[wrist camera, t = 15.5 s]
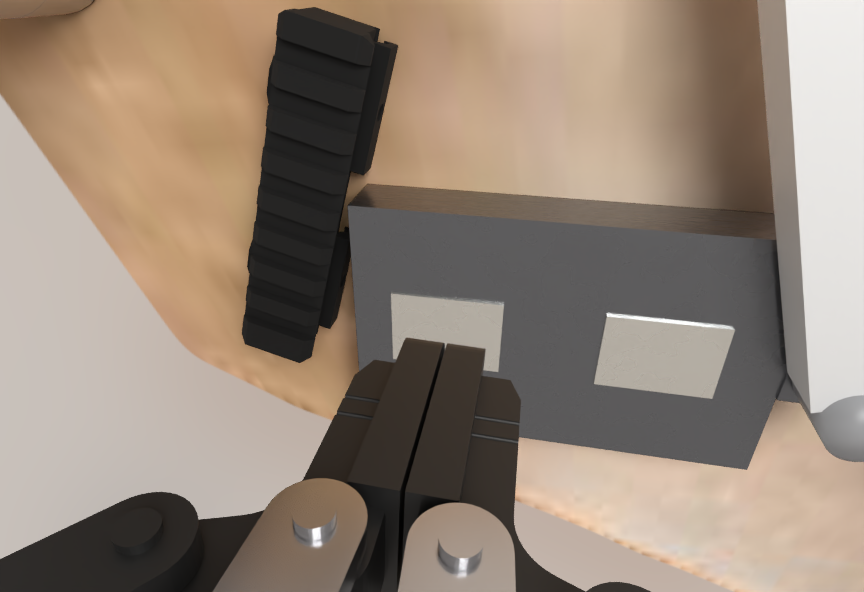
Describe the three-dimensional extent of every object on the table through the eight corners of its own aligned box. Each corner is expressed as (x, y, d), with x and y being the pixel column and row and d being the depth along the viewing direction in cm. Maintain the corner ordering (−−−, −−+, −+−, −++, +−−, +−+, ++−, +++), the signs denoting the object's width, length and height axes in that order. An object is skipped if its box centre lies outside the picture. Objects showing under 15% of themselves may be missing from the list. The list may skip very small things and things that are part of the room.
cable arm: (870, 400, 32) (911, 457, 28) (790, 410, 33) (819, 465, 29) (867, -194, 20) (937, -232, 17) (745, -144, 22) (784, -169, 18)
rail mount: (294, -4, 32) (253, -1, 27) (402, 32, 32) (378, 41, 27) (256, 300, 43) (222, 336, 39) (335, 328, 43) (311, 367, 38)
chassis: (377, 380, 44) (361, 416, 40) (367, 183, 36) (346, 206, 32) (792, 435, 39) (815, 481, 36) (886, 221, 31) (928, 253, 28)
